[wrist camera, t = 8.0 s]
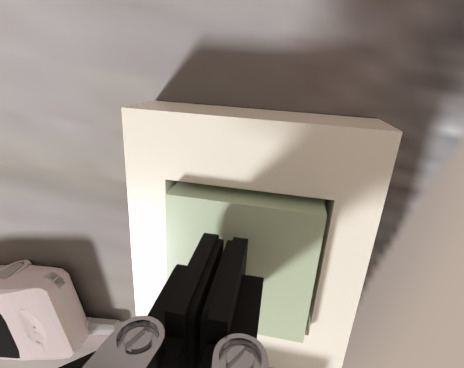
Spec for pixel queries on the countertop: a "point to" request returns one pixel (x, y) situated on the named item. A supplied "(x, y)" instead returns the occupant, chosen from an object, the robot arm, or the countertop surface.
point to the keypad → (267, 180)
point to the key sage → (255, 244)
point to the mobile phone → (43, 314)
